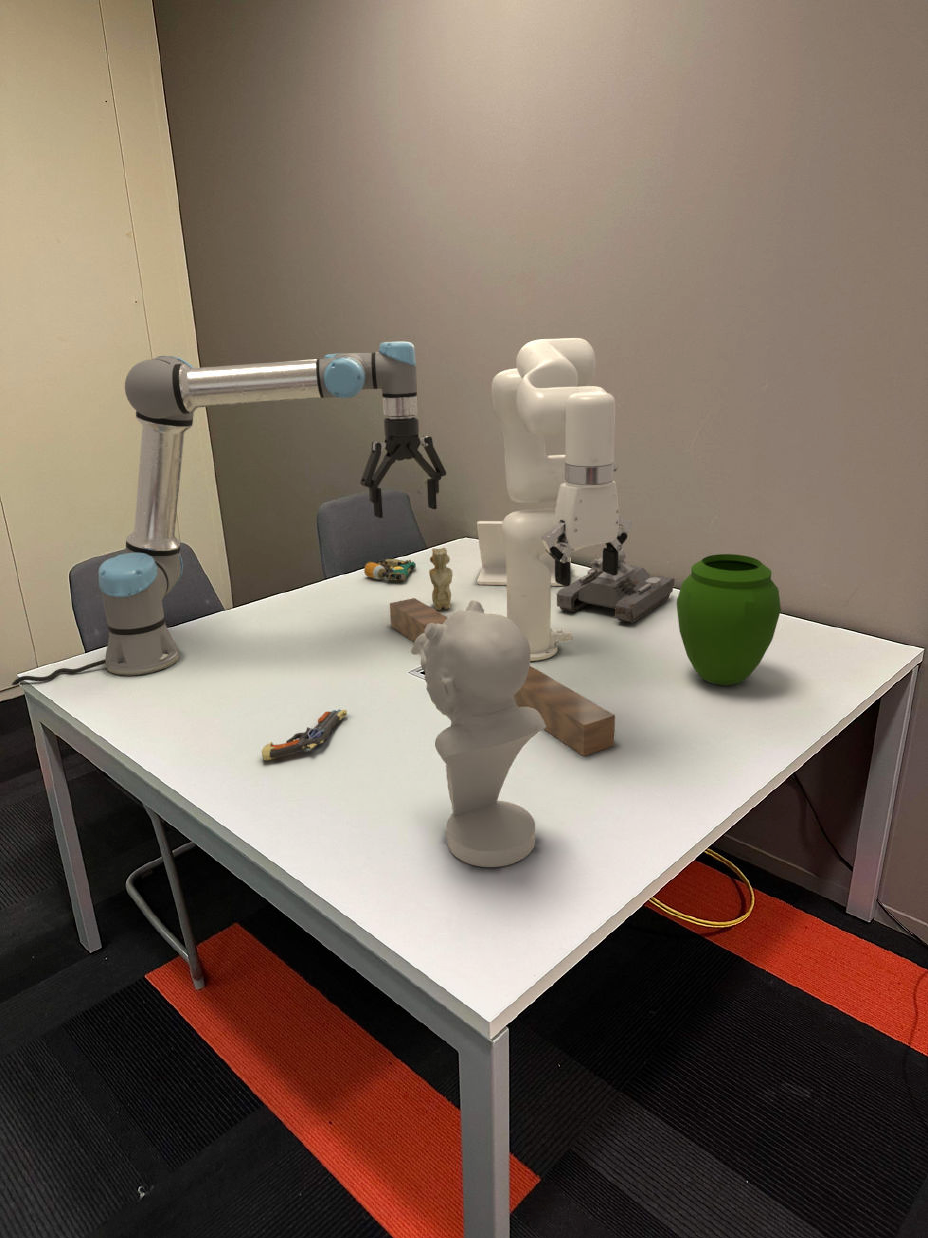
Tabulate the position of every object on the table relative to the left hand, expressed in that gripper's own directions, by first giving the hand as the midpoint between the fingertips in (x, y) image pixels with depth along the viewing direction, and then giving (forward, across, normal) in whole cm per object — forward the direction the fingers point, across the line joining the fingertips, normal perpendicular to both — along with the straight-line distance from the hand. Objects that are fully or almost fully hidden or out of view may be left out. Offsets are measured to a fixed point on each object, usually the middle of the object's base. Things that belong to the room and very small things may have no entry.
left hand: (406, 512), depth 193 cm
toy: (+28, -50, +14) cm, 59 cm away
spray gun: (+28, -15, -41) cm, 52 cm away
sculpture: (+28, -13, -9) cm, 33 cm away
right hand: (-2, 0, +65) cm, 65 cm away
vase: (+28, -39, +60) cm, 77 cm away
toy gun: (+28, +41, +37) cm, 62 cm away
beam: (+28, 0, +32) cm, 43 cm away
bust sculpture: (+28, +31, +78) cm, 88 cm away
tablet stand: (+28, -45, -19) cm, 57 cm away
